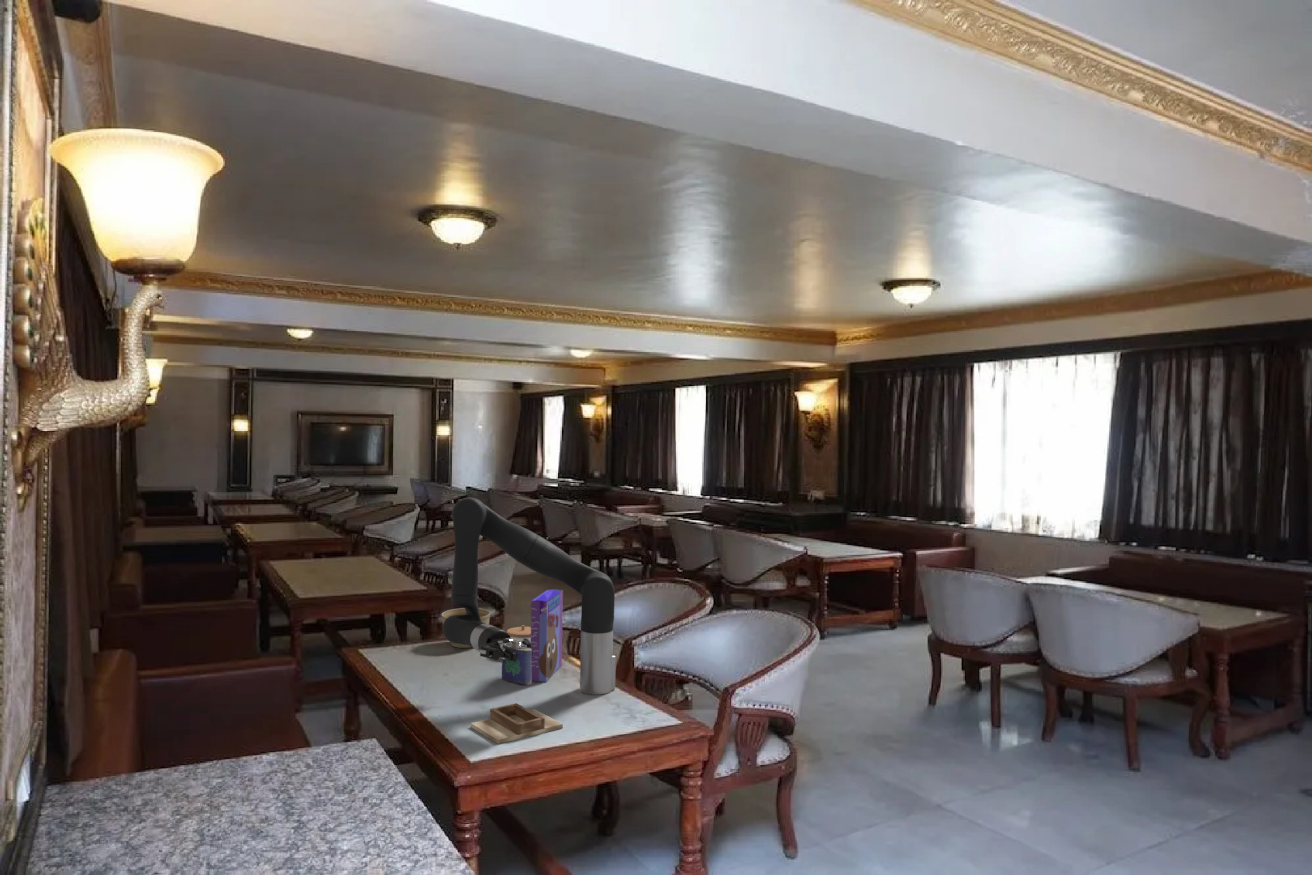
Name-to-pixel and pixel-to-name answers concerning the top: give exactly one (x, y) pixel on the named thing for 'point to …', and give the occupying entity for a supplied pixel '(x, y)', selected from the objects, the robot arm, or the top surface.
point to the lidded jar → (520, 633)
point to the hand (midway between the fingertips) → (522, 655)
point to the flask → (517, 665)
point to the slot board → (514, 723)
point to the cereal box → (546, 634)
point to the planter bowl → (461, 611)
